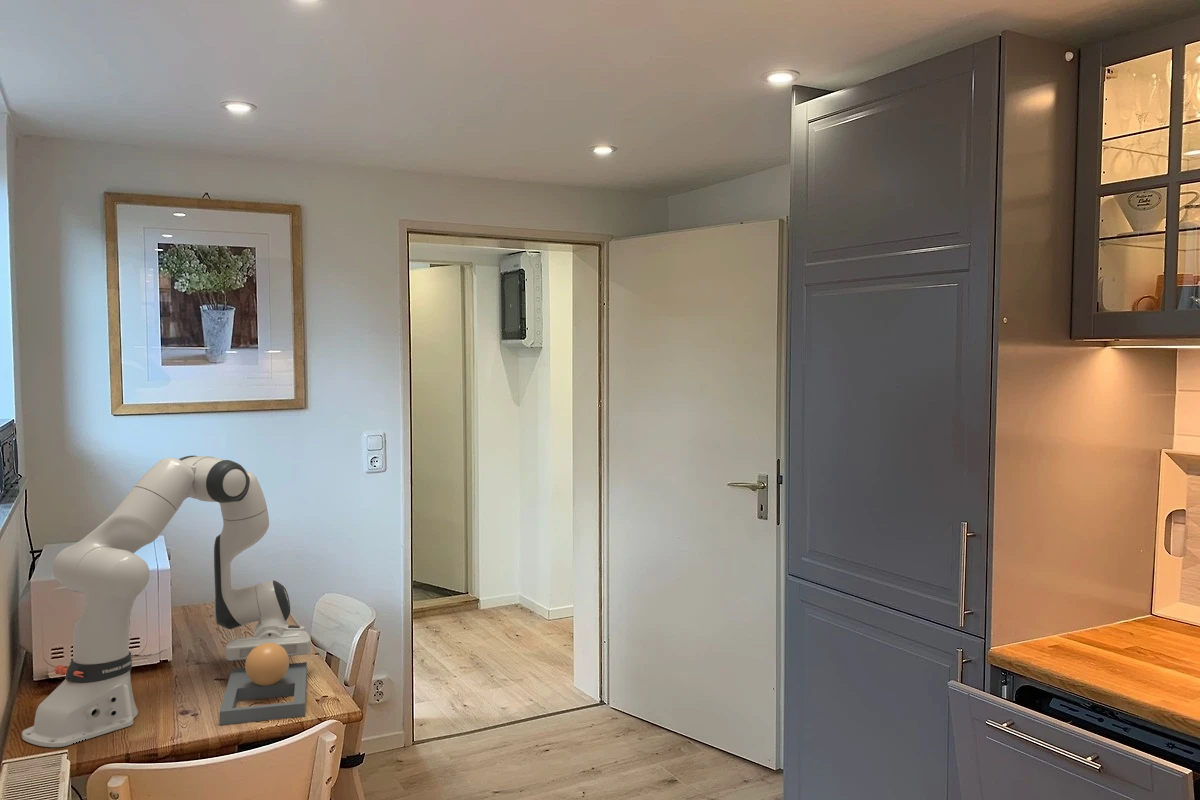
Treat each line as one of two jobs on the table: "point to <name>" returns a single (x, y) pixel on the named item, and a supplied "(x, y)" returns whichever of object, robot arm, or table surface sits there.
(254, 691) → the deck
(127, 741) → the table surface
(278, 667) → the ball
